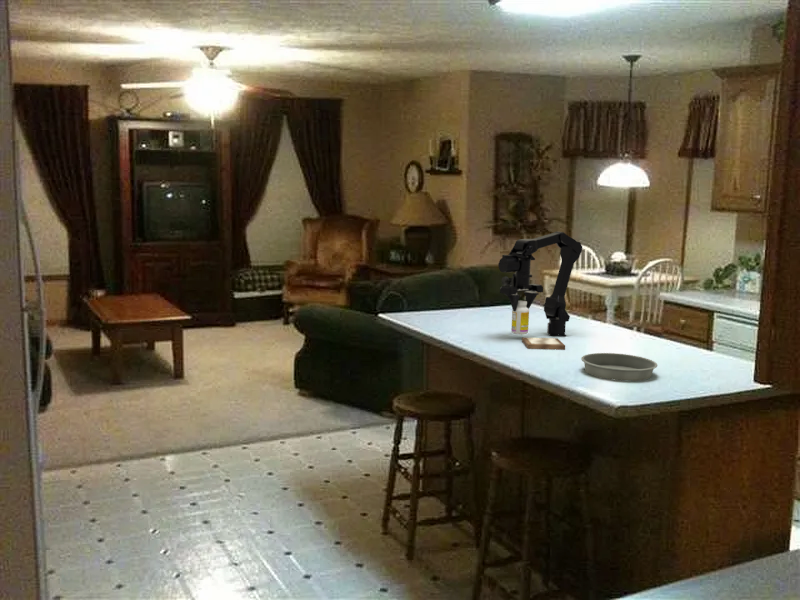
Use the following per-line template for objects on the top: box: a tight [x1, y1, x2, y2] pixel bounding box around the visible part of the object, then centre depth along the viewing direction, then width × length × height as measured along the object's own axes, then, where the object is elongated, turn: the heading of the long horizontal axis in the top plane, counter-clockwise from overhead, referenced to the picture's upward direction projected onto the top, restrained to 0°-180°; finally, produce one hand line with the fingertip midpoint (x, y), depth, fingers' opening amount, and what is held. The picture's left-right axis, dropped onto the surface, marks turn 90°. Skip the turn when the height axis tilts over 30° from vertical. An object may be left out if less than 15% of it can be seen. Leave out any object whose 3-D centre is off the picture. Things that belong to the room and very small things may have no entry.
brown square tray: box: [521, 337, 566, 351], centre depth 318 cm, size 14×14×2 cm
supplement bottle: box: [510, 300, 530, 335], centre depth 329 cm, size 7×7×13 cm
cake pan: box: [580, 352, 658, 382], centre depth 276 cm, size 25×25×4 cm
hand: (520, 310), depth 329 cm, fingers closed on supplement bottle, 7 cm apart
